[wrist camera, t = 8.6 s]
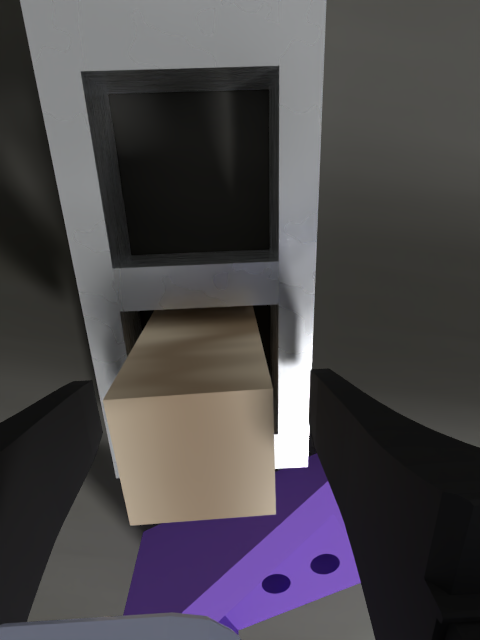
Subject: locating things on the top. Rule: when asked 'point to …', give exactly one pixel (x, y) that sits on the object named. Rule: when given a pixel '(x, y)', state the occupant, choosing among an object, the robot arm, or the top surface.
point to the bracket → (248, 557)
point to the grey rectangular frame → (105, 184)
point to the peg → (194, 418)
